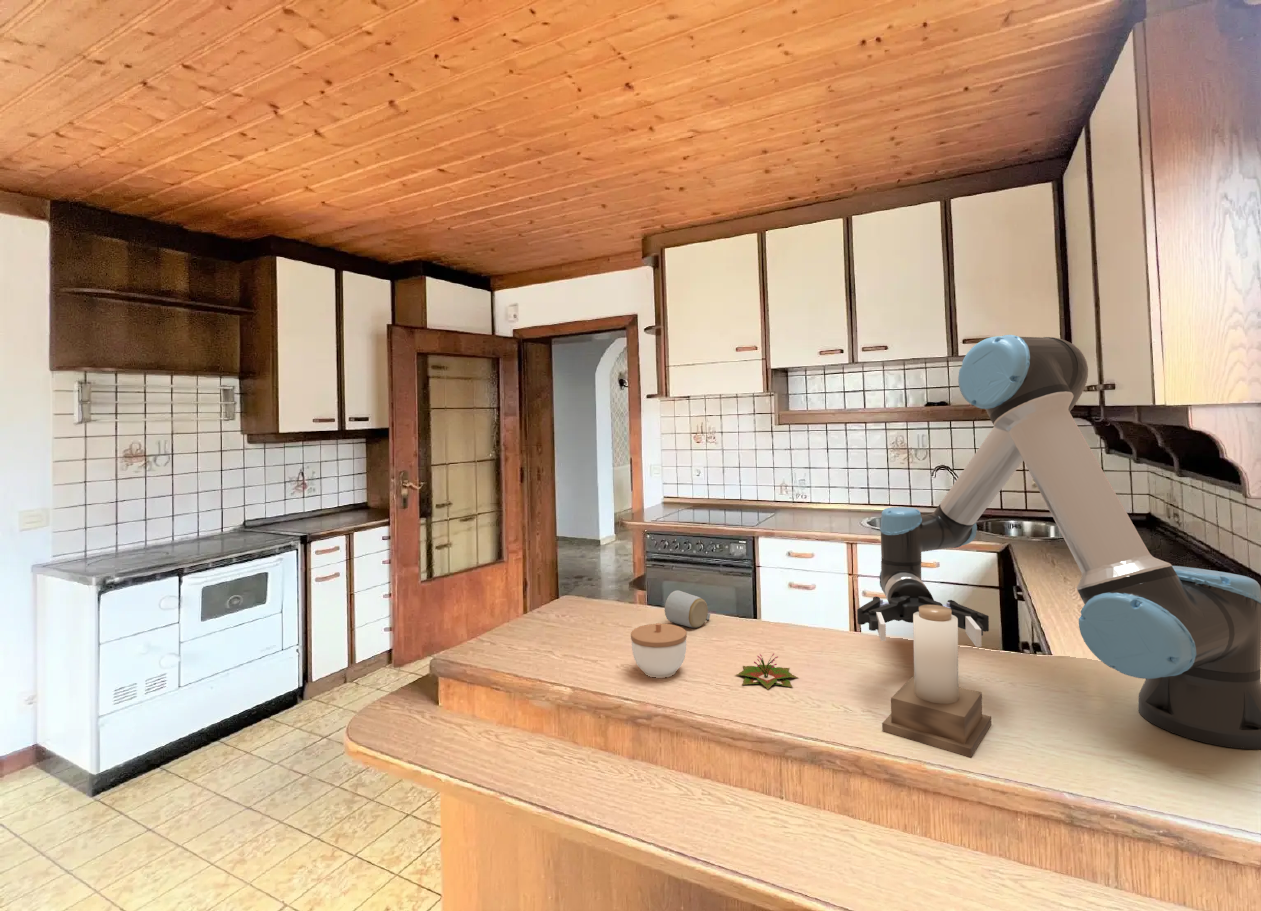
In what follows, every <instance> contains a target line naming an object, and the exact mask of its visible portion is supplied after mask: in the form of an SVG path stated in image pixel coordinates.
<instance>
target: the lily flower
mask: <svg viewBox="0 0 1261 911" xmlns="http://www.w3.org/2000/svg"><path fill="white" fill-rule="evenodd" d="M759 655H760V656H759ZM759 655H756V657H757V658H756V659H757V661H753V663H754V664H755V665H756V666H755V665H742V667H743V670H742V671H740V672H739V673H736V674H735V676H745V678H743V680H742V683H741V686H744V685H754V684H756V685H758V684H761V685H763V687H765V688H766V689H767V690H769V689H770V688H771V687H772V686H773V685H776V686H783V687H789V688H793V684H791V683H792V682H791V681H790V680H789V679H787V678H794V679H799V677H798V676H796V675H795V674H793V673H791V672H789V670H790V667H782V666H781V667H779V666H778V667H775V666H777V665H778V664H777V663H775V664H773V663H774V661H776V659H777V658H779V656H775V657H774V658H773V656H774V655H775V653H772V655H771V656H770V658H769V660H768V661H767V664H765V661H764V657H763V655H762V654H761V653H759ZM759 659H760V660H759ZM771 659H772V660H771ZM757 662H759V664H758V663H757ZM761 676H764V678H768V676H771V677H772V678H771V679H764V678H761ZM755 679H756V680H757V681H755ZM777 681H779V683H778V682H777Z"/></svg>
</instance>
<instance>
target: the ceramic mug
mask: <svg viewBox="0 0 1261 911" xmlns="http://www.w3.org/2000/svg"><path fill="white" fill-rule="evenodd" d="M708 611H709V607H708V604H707V602H706V600H705V599H703V598H701V597H700V596H697V595H694V594H691V593H687V592H685V591H682V590H674V591H672V592H670V593H669V595H668V596H667V598H666V600H665V603H664V615H665V618H666V619H667V621H668V622H670V623H673V624H676V625H681V626H684V627H689V628H693V629H695V628H696V629H697V628H700V627H701V626H703V624H704V623H705V622H706V621H709V620H710V618H711V613H709V612H708Z"/></svg>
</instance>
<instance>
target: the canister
mask: <svg viewBox="0 0 1261 911" xmlns="http://www.w3.org/2000/svg"><path fill="white" fill-rule="evenodd" d="M912 624H913V627H912V628H913V630H912V631H913V633H912V634H913V676H914V693H915V695H916V696H918V697H919V698H921V699H923V700H925V701H929V702H933V703H939V704H950V703H955V702H957V701H958V699H959V687H960V686H959V630H958V629H959V627H958V618H957V617H956V616H954V615H952V610H951V609H950V608H948V607H945V606H940V605H922V606H919V612H916V613H914V614H913V623H912Z"/></svg>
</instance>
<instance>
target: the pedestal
mask: <svg viewBox="0 0 1261 911" xmlns="http://www.w3.org/2000/svg"><path fill="white" fill-rule="evenodd" d="M890 709H891V710H890V712H891V713H890V714H889V715H888V716H887V717H886V719H884V721H883V722H882V723H881V725H882V727H881V728H882V730H881V731H883V732H885V733H889V734H890V735H891V734H892V735H895V736H899V737H902V738H906V739H908V740H912V741H915V742H918V743H921V744H925V745H929V746H932V747H935V748H938V749H941V750H945V751H949V752H952V753H955V754H959V755H963V756H966V757H968V758H972V757H973V755H974V754H975V751H976V750H977V749H978V746H979V745H980V743H981V742H982V740H983V738H984V737H985V735H986V734H987V732H988V730H989V728H990V727H991V726H992V716H991V715H986V714H984V713H983V692H981V691H977V690H972V689H970V688H969V689H968V688H966V687H965V688H964V687H960V686H959V699H958V701H957V702H955V703H950V704H939V703H933V702H929V701H925V700H923V699H921V698H919V697H918V696H916V695H915V693H914V675H913V676H911V677H910V678H909V679H908V680H907V681H906V682H905V683H904V684H903V685H902V686H901V687H900V689H898V690H897V691H896V692H895V693H894V694H893V695H892V696H891V697H890Z"/></svg>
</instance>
